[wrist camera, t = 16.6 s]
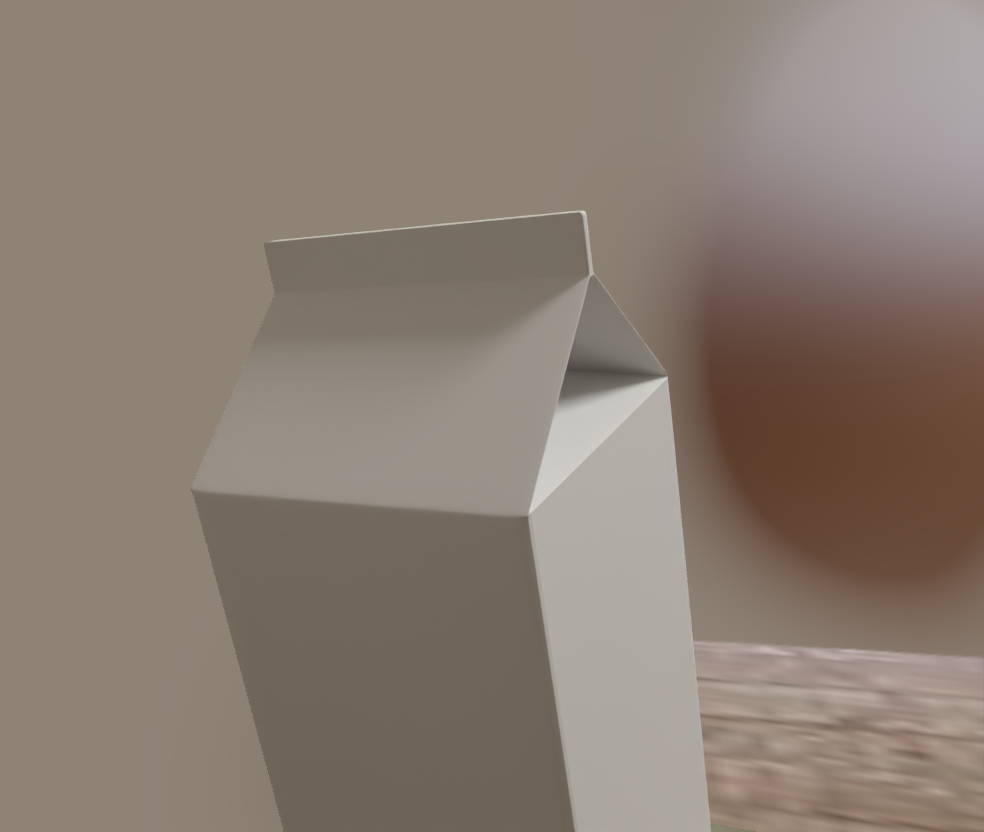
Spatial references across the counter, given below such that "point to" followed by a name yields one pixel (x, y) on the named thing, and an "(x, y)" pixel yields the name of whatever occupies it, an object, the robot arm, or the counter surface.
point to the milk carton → (457, 540)
